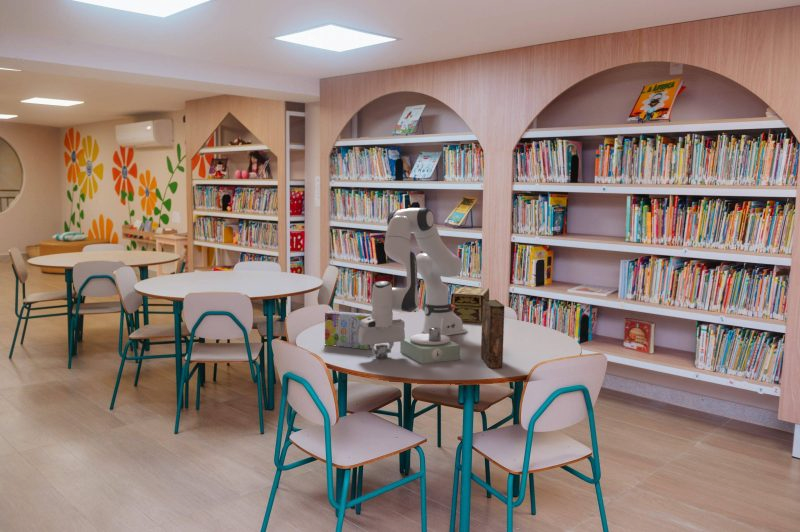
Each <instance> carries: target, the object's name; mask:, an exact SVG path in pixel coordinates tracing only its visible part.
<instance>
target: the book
mask: <svg viewBox="0 0 800 532" xmlns="http://www.w3.org/2000/svg"><path fill="white" fill-rule="evenodd" d="M504 326H505V305H504V304H503V303H502V302H500V300H499V301H498V299H489V300H483V307H482V323H481V341H480V343H481V345H480V347H481V348H480V359H481V360H482V361H483V363H484V364H485V365H486V366H487V368H488V369H492V370H499V369H503V360H504V359H503V357H504V352H503V351H504V334H505V332H504V330H505V327H504Z"/></svg>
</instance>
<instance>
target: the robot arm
mask: <svg viewBox="0 0 800 532" xmlns="http://www.w3.org/2000/svg"><path fill="white" fill-rule="evenodd" d="M386 220H387V222H386V224H387V229H386V231H385V232H386V233H385V237H384V247H383V249H384V252H385V254H386V255H387V257H388V258H389V259H391V260H392V261H395V262H396V263H398V264H401V265H402V266H404V267H405V269H406V287H395V286H394V287H393V286H392V283H391V282H390V281H388V280H387V281H386V280H380V281H376V282H375V283H374V284H373V286H372V291H371V306H372V307H371V309H372V310H371V313H370V314H371V316H370V317H367V318H365V319H363V320H361V321H360V324H361V325H362V326H361V327H360V328H359V332H358V342H359V343H360V344H361V345H370V347H371V348H370V349H371V353H372V355H374V356H375V355H376V354H377V350H376V348H375V347H376V345H378V344H388V354H391V353H392V349H393V347H394V343H399V342H400V341H404V339H405V338H406V334H405V333H406V332H405V326H406V325H405V321H404V320H402V319H393V317H394V316H393V311H402V312H406V313H412V312H413V311H416V310H417V309H418V307H419V305H420V298H419V289H418V286H419V285H418V273H419V275H420V276H421V278H422V280H423V283H424V287H425V288H424V289H425V303H424V320H423V321H424V322H423V327H422V329H421V332H422V334H429V328H431V327H438V328H441V335H445V336H453V335H459V334H464V333H468V329H467V328H466V327H464V326H463V324H464V323H463V322H462V320H461V318H459V317H458V316H457V315H456V314H454V313H453V312H452V311H451V309H455V305H450V304H451V303H449V295H450V294H449V293H450V291H449V287H448V286H447V284H445V283H444V282H443V279H442V278H441V277H444V278H445V277H446V278H450V277H452V278H453V277H457V276H459V275H460V274H461V271H462V269H463V262H462V259H461V258H460V257H459V256H457V255H456V254H454V253H453V252H452V251H451V250H450V249H449V248H448V247H447V245H445V243H444V242H443V240H442V238H441V236H440V233H439V231H438V228H437V226H436V225H437V224H435V216H434V212H432V210H431V209H430V208H428V207H424V206H423V207H408V208H402V209H395V210H392V211H391V212H389V214H388V215H387V219H386ZM412 233H413V235H414V238H415V240H416V243H417V246H418V248H419V250H420V251H421V253H418V254H417V255H415V253H414V251H412V250H411V238H412V237H411V236H412Z"/></svg>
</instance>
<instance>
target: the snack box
mask: <svg viewBox="0 0 800 532" xmlns="http://www.w3.org/2000/svg"><path fill="white" fill-rule="evenodd" d="M370 316H371V313H363V312H362V313H361V312H348V311H334V310H330V311H329V310H328V311H326V312H325V313H324V345H325V344H326V345H325V346H328V345H336V346H335V347H339V346H344V347H343V348H349V347H352V349H359V348H360V350H369V349H371V347H370V345H361V344H360V343H359V342H358V332H359V328H360V327H361V326H362V325H361V324H360V321H361V320H363V319H365V318H367V317H370Z"/></svg>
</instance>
